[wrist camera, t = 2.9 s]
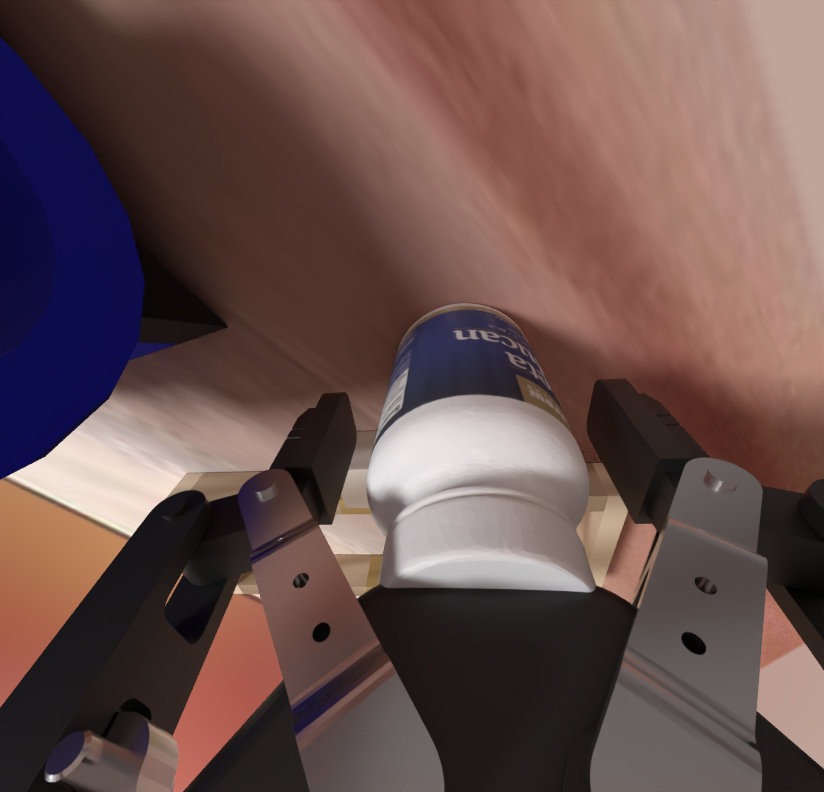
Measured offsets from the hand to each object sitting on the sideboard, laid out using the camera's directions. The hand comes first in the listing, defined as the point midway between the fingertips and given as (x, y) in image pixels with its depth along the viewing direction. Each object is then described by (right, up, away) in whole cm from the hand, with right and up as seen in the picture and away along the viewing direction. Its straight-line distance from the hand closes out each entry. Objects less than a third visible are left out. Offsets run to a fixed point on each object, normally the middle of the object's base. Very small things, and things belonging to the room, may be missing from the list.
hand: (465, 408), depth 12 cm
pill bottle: (0, +2, +3) cm, 3 cm away
